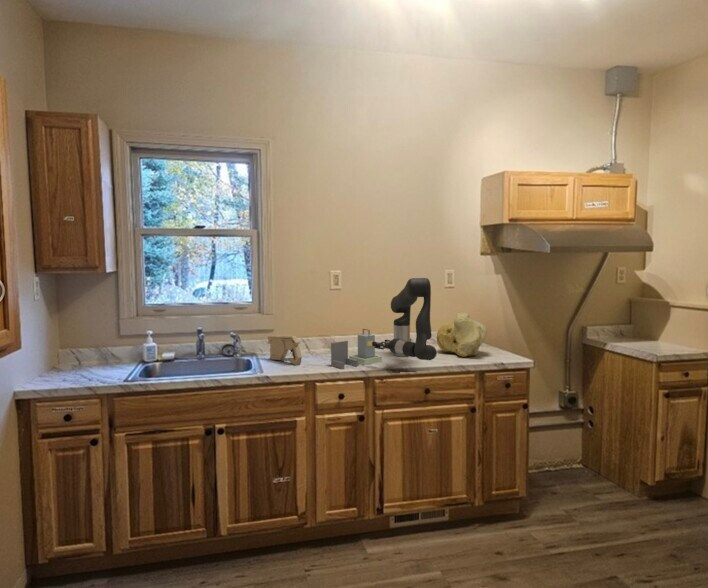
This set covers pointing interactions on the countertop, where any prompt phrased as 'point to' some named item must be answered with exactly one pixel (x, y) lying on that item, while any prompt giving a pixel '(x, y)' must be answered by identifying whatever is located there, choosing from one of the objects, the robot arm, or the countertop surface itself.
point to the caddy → (366, 345)
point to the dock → (341, 355)
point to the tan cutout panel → (284, 348)
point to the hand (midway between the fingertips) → (378, 342)
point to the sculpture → (461, 335)
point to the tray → (367, 361)
